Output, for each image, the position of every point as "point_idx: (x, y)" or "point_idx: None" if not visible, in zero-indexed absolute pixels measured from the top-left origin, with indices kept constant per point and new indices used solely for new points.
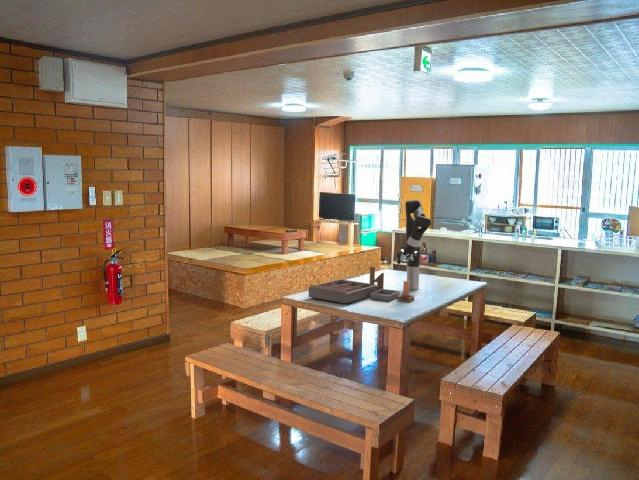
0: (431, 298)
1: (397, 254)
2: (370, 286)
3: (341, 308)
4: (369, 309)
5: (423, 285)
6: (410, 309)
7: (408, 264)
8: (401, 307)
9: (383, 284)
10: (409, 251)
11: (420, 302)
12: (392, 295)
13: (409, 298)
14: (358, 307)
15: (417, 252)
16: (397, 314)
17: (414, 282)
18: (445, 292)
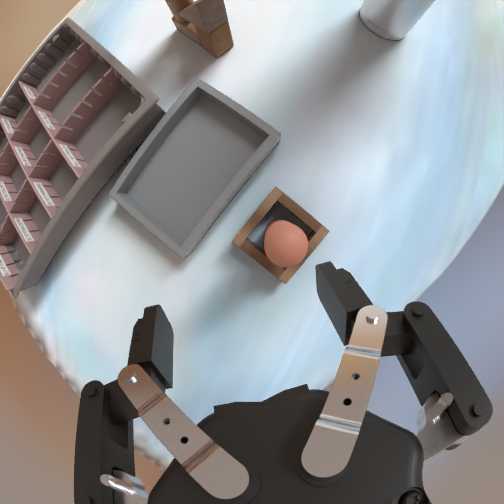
0: (412, 209)
1: (80, 420)
2: (105, 147)
3: (33, 319)
4: (97, 355)
5: None
6: (237, 388)
7: (316, 280)
8: (212, 357)
9: (228, 27)
10: None
11: None
12: (207, 225)
13: (282, 281)
14: (69, 321)
15: (460, 444)
16: None
17: (398, 23)
18: (483, 119)
